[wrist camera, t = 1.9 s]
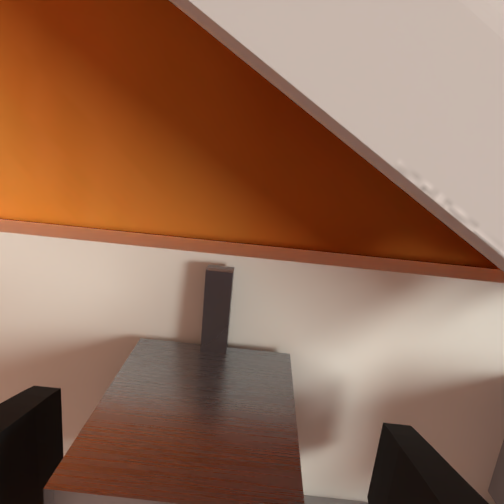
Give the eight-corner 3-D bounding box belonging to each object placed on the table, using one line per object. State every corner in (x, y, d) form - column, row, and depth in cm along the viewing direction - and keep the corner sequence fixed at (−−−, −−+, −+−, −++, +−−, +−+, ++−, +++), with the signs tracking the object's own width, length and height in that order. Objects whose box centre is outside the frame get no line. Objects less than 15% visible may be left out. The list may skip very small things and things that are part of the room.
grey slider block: (300, 274, 9) (337, 434, 4) (266, 528, 11) (264, 843, 6) (143, 258, 9) (-7, 398, 4) (137, 513, 11) (30, 814, 6)
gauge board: (667, 286, 11) (1088, 442, 5) (573, 529, 13) (799, 819, 7) (-173, 201, 11) (-613, 263, 5) (-127, 452, 13) (-409, 675, 8)
